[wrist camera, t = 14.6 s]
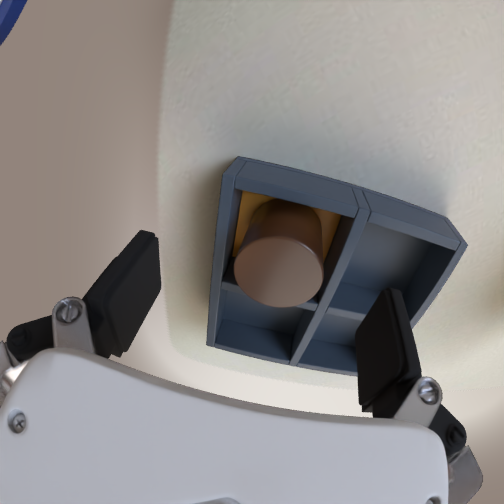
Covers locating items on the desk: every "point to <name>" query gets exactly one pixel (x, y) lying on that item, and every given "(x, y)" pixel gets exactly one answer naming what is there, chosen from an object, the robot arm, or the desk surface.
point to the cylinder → (281, 255)
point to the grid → (325, 266)
